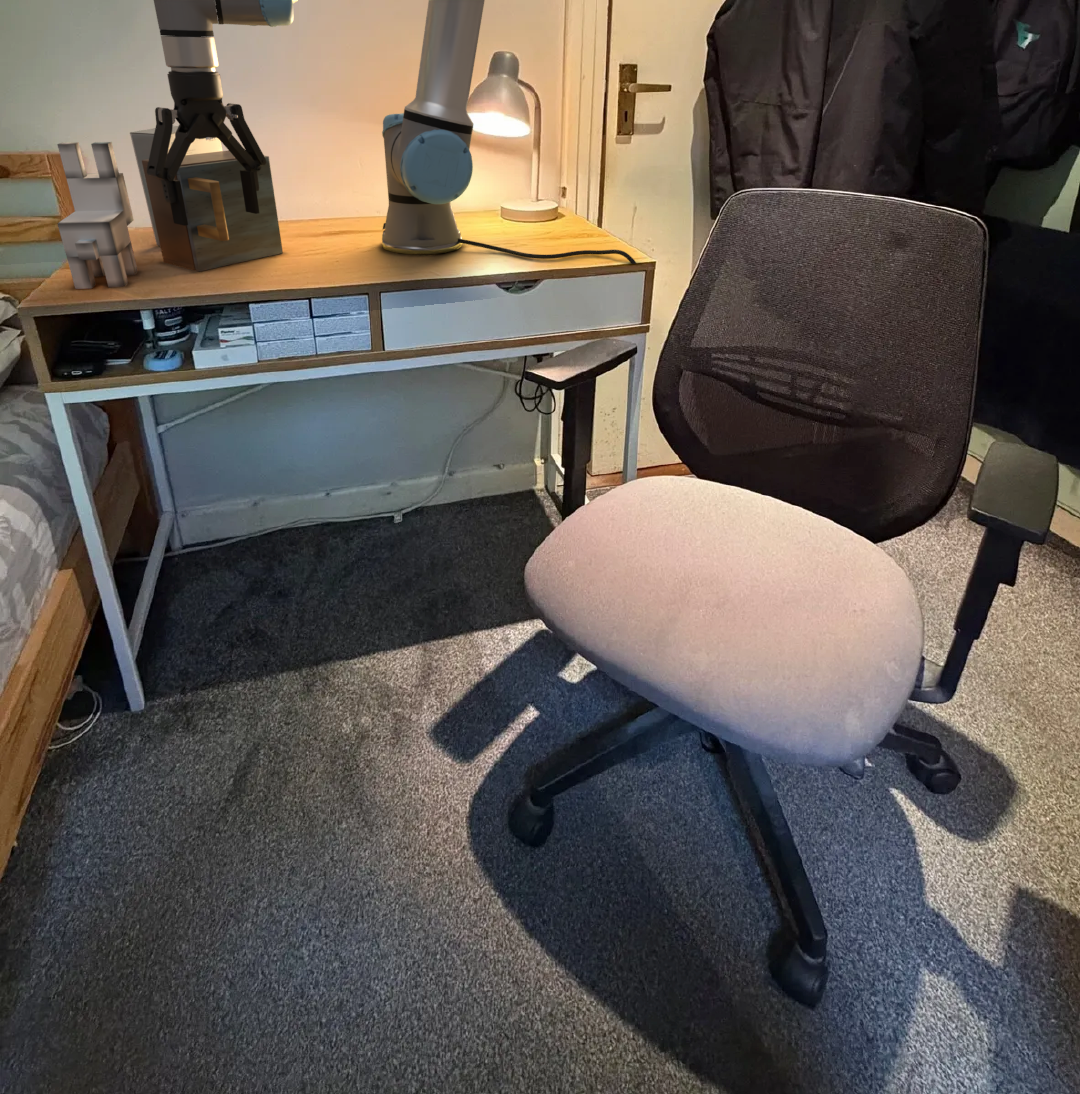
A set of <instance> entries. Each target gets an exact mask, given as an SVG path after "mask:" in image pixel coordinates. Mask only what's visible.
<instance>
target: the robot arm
mask: <svg viewBox="0 0 1080 1094" xmlns="http://www.w3.org/2000/svg"><path fill="white" fill-rule="evenodd" d="M298 1H299V0H153V5H154V10H155V15H156V20H157V25H158V29H159V35H160V40H161V45H162V51H163V57H164V62H165V66H166V67H168V68H170V70H169V71H168V73H167V80H168V86H169V91H170V96H171V98H172V100H173V109H170V108H168V107H162V106H161V107H160V106H157V107H155V109H154V114H155V127H154V128H155V133H154V137H153V142H152V147H151V152H150V156H149V161H148V166H147V174H148V175H149V176H153V177H156V178H159V179H160V180H161V183H162V187H163V193H164V198H165V200H166V202H169V203H170V205H171V210H172V215H173V220H174V223H175V224H179V225H183V226H185V225H188V221H187V216H186V211H185V205H184V200H183V195H182V189H181V184H180V181H179V180H174V178H175V176H176V174H177V172H178V170H179V168H180V166H181V163H182V161H183V159H184V157H185V155H186V153H187V151H188V149H189V147H190V145H191V143H193V142H194V140H195V138H196V139H204V138H207V137H210V138H218V139H219V140H220V141H221V144H223V145H224V147H225V148H226V149H227V151H228V150H229V151H230V152H231V153H232V155H233V156H234V157H235V158H236V159H237V160H238V161H239V163H240V164H241V165H242V166H243V167H244V168H245V170H240V176H241V182H242V189H243V195H244V202H245V209H246V212H250V213H254V214H258V213H259V206H258V199H257V192H256V191H259V182H258V175H257V171H260V170H261V166H262V165H266V159H265V157H264V156H265V155H264V153H263V151H262V150H261V147H260V146H259V144H258V142H257V139H256V138H255V136H254V134H253V133H252V130H251V129H250V127H249V125H248V123H247V121H246V120H245V115H244V111H243V107H242V105H241V104H239V103H232V102H230V103H229V102H228V103H227V104H225V105H224V103H223V98H224V92H223V85H222V78H221V74H220V73H219V72H218V71H216V68H218V67H219V66H220V63H219V59H218V52H217V47H216V40H215V39H216V38H215V34H214V28H213V25H217V24H218V25H236V26H238V25H239V26H250V27H251V26H252V27H256V26H260V27H261V26H269V27H270V28H273V27H274V28H275V27H281V26H282V27H284V26H291V25H292V23H293V22H294V19H295V18H294V17H295V16H294V4H295V3H298ZM485 2H486V1H485V0H428V2H427V9H426V10H427V11H426V18H425V24H424V25H425V26H424V30H423V32H424V33H423V38H422V46H421V54H420V60H419V61H420V62H419V68H418V75H417V83H416V90H415V97H414V99H413V100H411V101H410V102H409V103H408V104H406V105H405V106H404V109H403V112H401V113H391V114H390V113H389V114H387V115H386V116H384V118H383V121H382V131H381V135H382V139H383V148H384V159H385V172H386V173H385V174H386V185H387V186H386V187H387V197H388V207H387V213H386V217H385V222H384V223H383V225H382V234H381V241H382V242H381V243H382V248H383V249H384V250H386V251H389V252H392V253H395V254H403V255H437V254H444V253H450V252H453V251H456V250H459V249H461V247H462V246H463V245H462V244H464V245H468V246H474V247H479V248H483V249H488V250H492V251H496V252H501V253H506V254H509V255H513V256H518V257H523V258H528V259H535V260H536V259H537V260H551V259H552V260H553V259H561V258H567V257H568V258H569V257H573V256H583V255H597V256H598V255H620V256H622V257H624V258H625V259H627V260H628V261H629V263H631V264H632V265H637V262H636V261H635V259H634V257H632V256H631V255H630V254H629V253H628V252H625V251H624V250H621V249H602V250H601V249H599V250H595V249H587V250H586V249H584V250H583V249H582V250H574V251H568V252H562V253H553V254H552V253H551V254H550V253H549V254H541V253H540V254H537V253H527V252H521V251H516V250H514V249H510V248H505V247H501V246H496V245H493V244H492V245H491V244H487V243H484V242H480V241H479V242H478V241H473V240H468V239H464V238H462V233H461V231H460V229H459V228H458V225H457V221H456V216H455V213H454V210H453V207H452V202H454V201H455V200H457V199H458V198H460V196H461V195H463V194H464V193H465V191H466V190H467V189H468V187H469V185H470V183H471V180H472V177H473V171H474V163H473V156H472V152H471V150H470V148H471V143H472V136H473V131H474V122H473V120H472V119H471V117H470V116H469V115H470V114H469V113H468V110H467V109H468V105H469V104H468V103H469V97H470V91H471V86H472V79H473V75H474V74H473V73H474V67H475V61H476V54H477V49H478V43H479V37H480V32H481V31H480V30H481V24H482V18H483V12H484V7H485ZM226 118H227V120H228V121H229V122H230V125H231V126H232V128H233V130H234V132H235V134H236V136H237V138H238V139H239V140H238V139H237V138H235V136H234V135H233V132H232V131H231V130H230V128H229V126H227V125H226V123H225V120H226ZM176 121H177V123H178V124H179V127H178V129H177V131H176V133H175V139H174V141H173V143H172V145H171V148H170V150H169V152H168V148H169V144H170V139H171V134H172V129H173V125H175V123H176ZM239 141H240V142H239ZM167 153H168V154H167Z"/></svg>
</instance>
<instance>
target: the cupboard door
mask: <svg viewBox="0 0 1080 1094" xmlns="http://www.w3.org/2000/svg"><path fill="white" fill-rule="evenodd" d="M264 157H265V159H266V165H262V166H261V170H260V171H257V175H258V182H259V191H256V192H257V199H258V206H259V213H258V214H254V213H250V212H246V209H245V202H244V195H243V189H242V182H241V176H240V170H245V168H244V167H243V166H242V165H241V164H240V163H239V161H238V160H237V159H236V160H228V161H219V162H211V163H203V164H195V165H187V166H180V168H179V170H178V172H177V179H178V180H179V181H180V184H181V189H182V195H183V200H184V205H185V211H186V216H187V221H188V225H187V229H188V234H189V239H190V244H191V249H192V254H193V259H194V264H195V269H196V272H202V271H208V270H213V269H217V268H222V267H226V266H230V265H236V264H239V263H244V262H248V261H249V262H250V261H254V260H257V259H258V260H259V259H263V258H267V257H271V256H276V255H281V254H284V251H283V244H282V237H281V230H280V224H279V217H278V211H277V202H276V197H275V195H276V194H275V189H274V182H273V175H272V168H271V162H270V156H269V155H264Z"/></svg>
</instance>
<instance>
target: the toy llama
mask: <svg viewBox="0 0 1080 1094" xmlns="http://www.w3.org/2000/svg"><path fill="white" fill-rule="evenodd" d="M90 145H91V149H92V153H93V158H94V161H95V165H96V169H97V173H87V170H86V166H85V162H84V159H83V154H82V150H81V146H80V143H79V142H78V141H71V142H70V141H69V142H67V141H65V142H63V141H61V142H59V143H57V148H58V152H59V157H60V160H61V164H62V168H63V171H64V174H65V179H66V182H67V186H68V190H69V194H70V197H71V201H72V206H73V209H74V211H73V212H71V214H69V215H67V216H66V217H65V218H63V219H61V220H60V221H59V222H58V223H57V227H58V230H59V235H60V238H61V242H62V245H63V246H62V247H63V249H64V253H65V256H66V261H67V263H68V267H69V271H70V274H71V278H72V282H73V285H74V289H75V290H83V289H85V290H86V289H87V290H89V289H93V288H94V287H95V286H96V285H97V283H96V279H95V277H104V276H105V279H106V283H107V287H108V288H126V286H127V285H128V284H129V279H128V276H136V275H137V273H138V272H139V269H138V266H137V261H136V256H135V253H134V249H133V243H132V240H131V236H130V232H129V227H128V226H129V225H131V223H132V222H134V215H133V210H132V206H131V202H130V198H129V193H128V190H127V185H126V180H125V177H124V173H123V172H119V167H118V164H117V159H116V154H115V151H114V145H113V142H112V141H95V142H92V143H91V144H90Z"/></svg>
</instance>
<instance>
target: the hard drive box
mask: <svg viewBox="0 0 1080 1094" xmlns="http://www.w3.org/2000/svg"><path fill="white" fill-rule="evenodd" d="M178 127H179V123H178V124H177V123H176V124H173V129H172V134H171V139H170V144H169V148H168V152H169V150H170V148H171V145H172V143H173V141H174V139H175V133H176V131H177V129H178ZM155 128H156V127H153V128H146V129H142V130H141V129H140V130H136V131H130V132H129V136H130V139H131V143H132V148H133V151H134V156H135V161H136V164H137V169H138V173H139V178H140V181H141V186H142V189H143V194H144V198H145V203H146V206H147V211H148V215H149V219H150V223H151V227H152V232H153V236H154V240H155V244H156V246H159V247H160V242H159V238H158V233H157V229H156V224H155V220H154V215H153V210H152V206H151V201H150V197H149V192H148V188H147V183H146V179H145V174H144V169H143V165H142V160H148V159H149V156H150V152H151V147H152V142H153V137H154V133H155ZM219 151H224V150H223V146H222V142H221V141H220V140H219V139H218V138H210V137H207V138H204V139H196V138H195V140H194V142H193V143H191V145H190V147H189V149H188V151H187V153H186V155H193V154H202V153H210V152H219ZM167 154H168V153H167Z"/></svg>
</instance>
